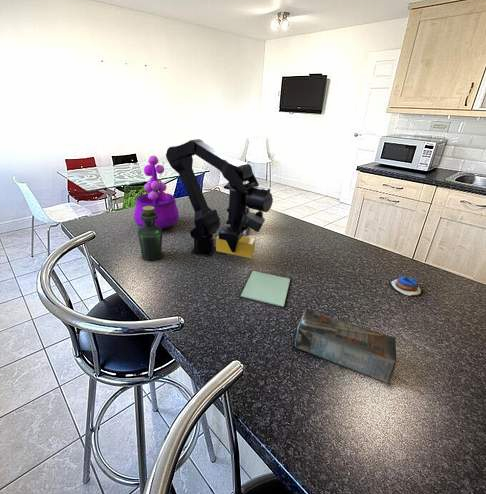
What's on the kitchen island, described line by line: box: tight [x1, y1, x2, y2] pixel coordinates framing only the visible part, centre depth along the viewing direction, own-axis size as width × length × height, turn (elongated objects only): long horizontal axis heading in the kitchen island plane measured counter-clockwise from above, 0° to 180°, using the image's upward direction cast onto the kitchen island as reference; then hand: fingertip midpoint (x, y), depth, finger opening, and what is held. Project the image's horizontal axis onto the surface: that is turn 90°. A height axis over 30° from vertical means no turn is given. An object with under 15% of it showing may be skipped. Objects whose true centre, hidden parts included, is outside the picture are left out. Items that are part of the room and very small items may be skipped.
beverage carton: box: [294, 308, 397, 384], centre depth 63 cm, size 8×19×7 cm, turn 61°
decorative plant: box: [133, 155, 180, 230], centre depth 120 cm, size 19×18×30 cm
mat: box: [240, 270, 291, 308], centre depth 86 cm, size 12×14×1 cm
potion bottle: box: [137, 206, 163, 262], centre depth 98 cm, size 8×8×18 cm
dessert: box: [390, 274, 422, 296], centre depth 87 cm, size 8×7×6 cm
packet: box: [215, 234, 257, 259], centre depth 96 cm, size 12×4×5 cm, turn 69°
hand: (235, 248), depth 97 cm, fingers closed on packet, 4 cm apart
